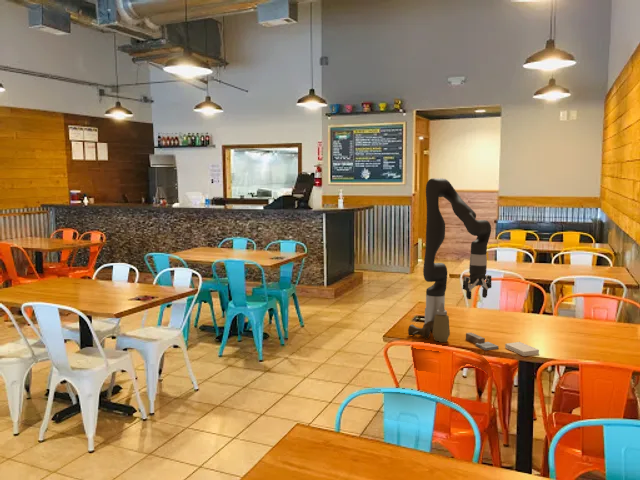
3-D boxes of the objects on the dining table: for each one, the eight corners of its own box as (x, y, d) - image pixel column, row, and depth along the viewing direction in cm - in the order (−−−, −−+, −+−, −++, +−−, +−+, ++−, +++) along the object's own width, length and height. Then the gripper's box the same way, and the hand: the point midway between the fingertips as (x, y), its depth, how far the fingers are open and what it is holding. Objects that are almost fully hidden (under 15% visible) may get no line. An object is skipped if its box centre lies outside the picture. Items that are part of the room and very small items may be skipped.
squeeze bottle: (428, 339, 255) (429, 301, 252) (443, 337, 257) (444, 300, 255) (438, 344, 247) (439, 305, 245) (453, 342, 250) (454, 304, 248)
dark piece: (462, 339, 254) (462, 333, 254) (474, 338, 257) (474, 332, 256) (485, 350, 239) (485, 344, 238) (498, 348, 241) (498, 342, 241)
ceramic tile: (505, 343, 242) (524, 351, 231) (519, 341, 245) (538, 349, 234) (505, 348, 242) (523, 357, 231) (519, 346, 245) (538, 354, 234)
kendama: (440, 333, 266) (422, 342, 250) (422, 330, 272) (403, 338, 256) (440, 321, 266) (422, 329, 250) (422, 318, 272) (403, 326, 256)
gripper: (485, 261, 253) (484, 295, 255) (460, 263, 248) (458, 297, 250) (496, 264, 246) (494, 298, 248) (470, 265, 241) (468, 301, 243)
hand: (476, 298), depth 249 cm, fingers open, 8 cm apart
